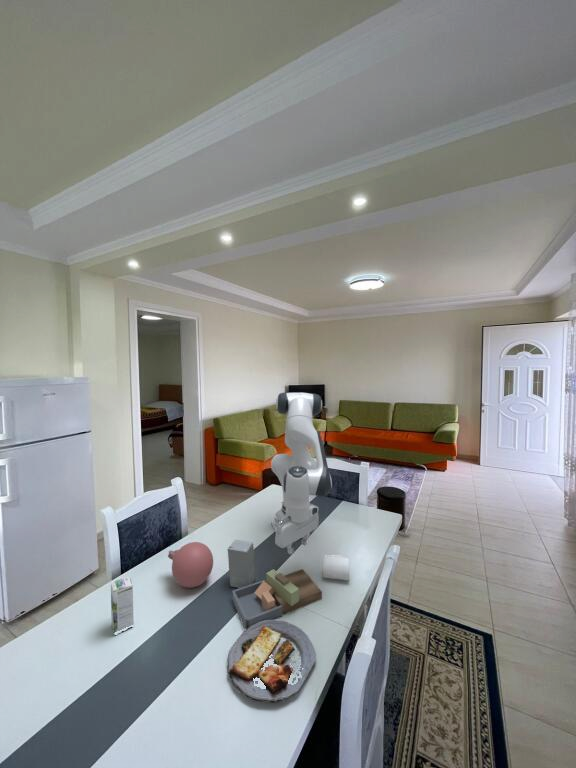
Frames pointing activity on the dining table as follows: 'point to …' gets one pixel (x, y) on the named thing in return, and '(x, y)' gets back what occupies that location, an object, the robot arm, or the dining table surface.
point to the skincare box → (241, 563)
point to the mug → (336, 567)
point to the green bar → (283, 587)
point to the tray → (252, 606)
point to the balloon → (191, 564)
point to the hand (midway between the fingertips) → (297, 548)
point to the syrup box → (122, 603)
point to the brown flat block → (300, 591)
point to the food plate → (256, 651)
